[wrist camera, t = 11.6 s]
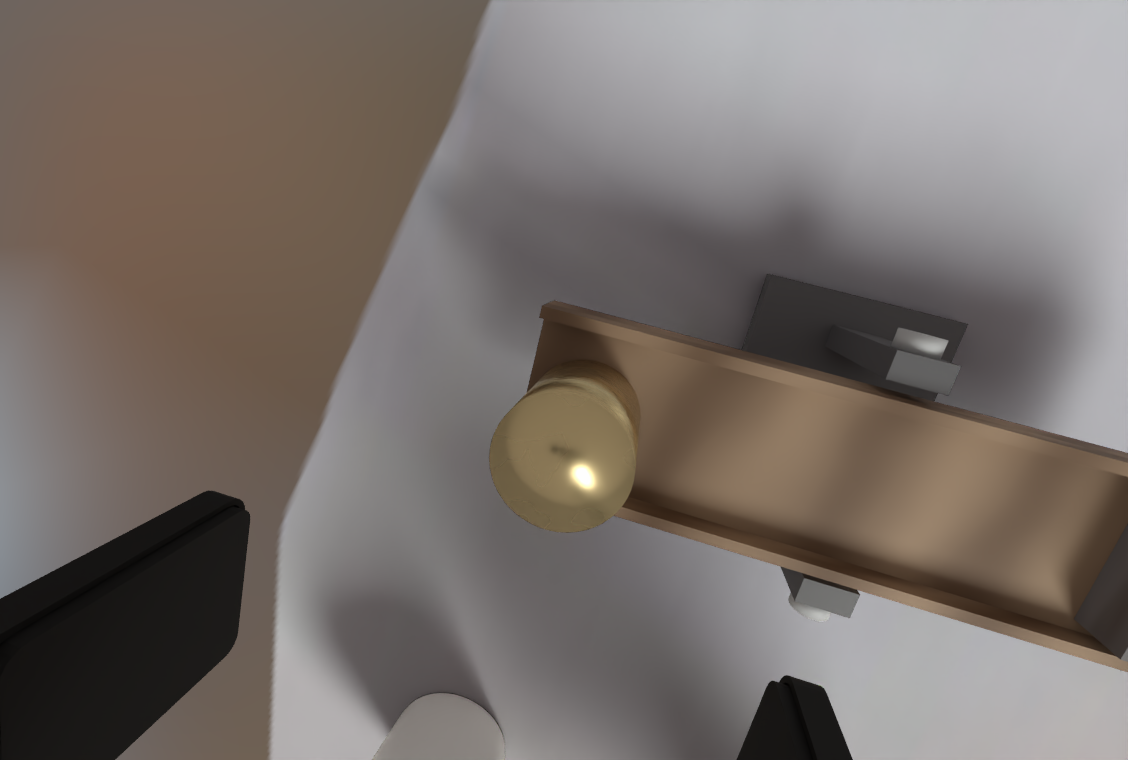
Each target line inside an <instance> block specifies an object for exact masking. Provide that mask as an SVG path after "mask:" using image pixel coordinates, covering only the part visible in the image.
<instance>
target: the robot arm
mask: <svg viewBox="0 0 1128 760" xmlns="http://www.w3.org/2000/svg"><path fill="white" fill-rule="evenodd" d="M249 525H250V514H249V512H247V511H246V510H245V506H244V503H243V501H241V500H240V499H237V498H234V497H231V496H227V495H224V494H221V493H218V492H215V491H206V492H203V493H201V494H199V495H197V496H195V497H193V498H192V499H190V500H188V501H186V502H184V503H182V504H180V505H178V506H176V507H174V508H172V509H171V510H169V511H167V512H165V513H163V514H161V515H159V516H157V517H155V518H154V519H151V520H150V521H148V522H146V523H144V524H142V525H140V526H138V527H137V528H134V529H133V530H130V531H129V532H127V533H125V534H123V535H121V536H119V537H117V538H115V539H113V540H112V541H110V542H108V543H106V544H104V545H102V546H100V547H98V548H96V549H94V550H92V551H90V552H89V553H87V554H85V555H83V556H81V557H79V558H77V559H75V560H73V561H71V562H70V563H68V564H66V565H64V566H62V567H60V568H58V569H56V570H55V571H52V572H50V573H49V574H47V575H45V576H43V577H41V578H39V579H37V580H35V581H33V582H31V583H30V584H28V585H26V586H24V587H22V588H20V589H18V590H16V591H14V592H13V593H11V594H9V595H7V596H5V597H3V598H1V599H0V760H115V759H116V758H117V757H118V756H119V755H120V754H122V753H123V752H124V751H125V750H126V749H127V748H128V747H129V746H130V745H131V744H132V743H133V742H135V741H136V740H137V739H138V738H139V737H140V736H141V735H142V734H143V733H144V732H145V731H146V730H147V729H148V728H150V727H151V726H152V725H153V724H154V723H155V722H156V721H157V720H158V719H159V718H160V717H161V716H162V715H163V714H164V713H166V712H167V711H168V710H169V709H170V708H171V707H172V706H173V705H174V704H175V703H176V702H177V701H178V700H179V699H180V698H182V697H183V696H184V695H185V694H186V693H187V692H188V691H189V690H190V689H191V688H192V687H193V686H194V685H196V683H198V682H199V681H200V680H201V679H202V678H203V677H204V676H205V675H206V674H207V673H208V672H209V671H211V670H212V669H213V668H214V667H215V666H216V665H217V664H218V663H219V662H220V661H221V660H222V659H223V658H224V657H225V656H226V655H227V654H228V653H229V652H230V650H231V649H232V647H233V645H234V643H235V641H236V638H237V634H238V627H239V618H240V609H241V599H242V590H243V581H244V571H245V561H246V553H247V544H248V535H249ZM737 760H853V759H852V757H851V754H850V752H849V749H848V747H847V744H846V742H845V739H844V736H843V734H842V731H841V729H840V726H839V724H838V721H837V719H836V716H835V713H834V711H833V708H832V706H831V703H830V701H829V698H828V696H827V693H826V691H825V690H824V688H822V687H821V686H819V685H816V684H813V683H810V682H806V681H803V680H800V679H797V678H794V677H791V676H788V675H787V676H784V677H783V678H782V679H781V680H780V682H779V683H778V682H775V681H771V682H770V683H769V684H768V686H767V688H766V690H765V692H764V695H763V697H762V700H761V702H760V705H759V707H758V709H757V712H756V714H755V717H754V719H753V721H752V724H751V726H750V729H749V731H748V734H747V736H746V738H745V741H744V743H743V746H742V748H741V751H740V753H739V755H738V758H737Z"/></svg>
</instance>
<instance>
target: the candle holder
mask: <svg viewBox="0 0 1128 760" xmlns="http://www.w3.org/2000/svg"><path fill="white" fill-rule="evenodd" d="M372 760H505V742H504V738H503V735H502V732H501V730H500V728H499V726H498V724H497V723H496V721H495V720H494V719H493V717H492V716H491V715H490V714H489V713H488V712H487V711H486V710H485V709H483V708H482V707H481V706H479V705H478V704H476V703H475V702H473V701H471V700H469V699H467V698H464V697H462V696H458V695H454V694H448V693H435V694H429V695H425V696H423V697H420V698H418V699H417V700H415V701H413V702H412V703H411V704H410V705H409V706H408V707H407V708H406V709H405V710H404V711H403V713H402V714H401V715H400V717H399V718H398V720H397V721H396V723H395V724H394V726H393V727H392V729H391V730H390V732H389V734H388V735H387V737H386V738H385V740H384V741H383V743H382V744H381V746H380V748H379V749H378V751H377V752H376V754H375V755H374V757H373V759H372Z"/></svg>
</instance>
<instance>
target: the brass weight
mask: <svg viewBox="0 0 1128 760" xmlns="http://www.w3.org/2000/svg"><path fill="white" fill-rule="evenodd" d="M640 421H641V412H640V405H639V401H638V398H637V395H636V393H635V391H634V389H633V388H632V386H631V384H630V383H629V382H628V381H627V379H626V378H625V377H624V376H623V375H622V374H621V373H619V372H618V371H617V370H615V369H614V368H612V367H610V366H608V365H606V364H604V363H601V362H597V361H594V360H580V359H579V360H571V361H567V362H564V363H561V364H559V365H557V366H555V367H553V368H552V369H550V370H549V371H548V372H546V373H545V374H544V375H543V376H542V377H541V378H540V380H539V381H538V382H537V383H536V384H535V385H534V386H533V387H532V388H531V389H530V390H529V391H528V392H527V393H526V394H525V395H524V396H523V397H522V398H521V400H520V401H519V402H518V403H517V404H516V405H515V406H514V407H513V408H512V409H511V410H510V411H509V412H508V413H507V414H506V415H505V416H504V418H503V419H502V420H501V422H500V423H499V425H498V427H497V429H496V430H495V433H494V435H493V438H492V441H491V446H490V454H489V462H490V470H491V475H492V478H493V481H494V484H495V486H496V489H497V491H498V493H499V494H500V496H501V497H502V499H503V500H504V502H505V503H506V504H507V505H508V506H509V508H511V509H512V510H513V511H514V512H515V513H516V514H517V515H518V516H520V517H521V518H522V519H524V520H526V521H527V522H529V523H531V524H533V525H535V526H537V527H540V528H543V529H546V530H550V531H555V532H566V533H568V532H579V531H584V530H588V529H591V528H594V527H596V526H598V525H600V524H602V523H604V522H605V521H607V520H608V519H610V518H611V517H612V516H613V515H614V514H616V513H617V512H618V510H619V509H620V508H621V507H622V506H623V504H624V503H625V501H626V500H627V498H628V496H629V494H630V492H631V489H632V486H633V482H634V476H635V469H636V459H637V449H638V440H639V430H640Z"/></svg>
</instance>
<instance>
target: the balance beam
mask: <svg viewBox="0 0 1128 760" xmlns="http://www.w3.org/2000/svg"><path fill="white" fill-rule="evenodd" d="M539 318H543V319H544V321H543V326H542V330H541V334H540V338H539V343H538V347H537V351H536V355H535V360H534V364H533V368H532V372H531V377H530V381H529V385H528V389H527V392H528V391H529V390H530V389H531V388H532V387H533V386H534V385H535V384H536V383H537V382H538V381H539V380H540V378H541V377H542V376H543V375H544V374H545V373H546V372H548V371H549V370H550V369H552V368H553V367H555V366H557V365H559V364H561V363H564V362H567V361H571V360H579V359H580V360H594V361H597V362H601V363H604V364H606V365H608V366H610V367H612V368H614V369H615V370H617V371H618V372H619V373H621V374H622V375H623V376H624V377H625V378H626V379H627V381H628V382H629V383H630V384H631V386H632V388H633V389H634V391H635V393H636V395H637V398H638V401H639V405H640V412H641V421H640V430H639V440H638V449H637V459H636V469H635V476H634V482H633V486H632V489H631V492H630V494H629V496H628V498H627V500H626V501H625V503H624V504H623V506H622V507H621V508H620V509H619V510H618V512H617V513H616V514H614V515H613V516H617V517H620V518H623V519H626V520H630V521H633V522H636V523H640V524H643V525H646V526H649V527H653V528H656V529H659V530H663V531H666V532H669V533H672V534H676V535H679V536H682V537H686V538H689V539H692V540H695V541H699V542H702V543H705V544H708V545H712V546H715V547H718V548H722V549H725V550H728V551H731V552H735V553H738V554H741V555H745V556H748V557H751V558H754V559H758V560H761V561H764V562H768V563H771V564H774V565H777V566H781V567H784V568H787V569H791V570H794V571H797V572H800V573H804V574H807V575H810V576H814V577H817V578H820V579H823V580H827V581H830V582H833V583H837V584H840V585H843V586H846V587H850V588H853V589H856V590H860V591H863V592H866V593H869V594H873V595H876V596H879V597H883V598H886V599H889V600H892V601H896V602H899V603H902V604H905V605H909V606H912V607H915V608H919V609H922V610H925V611H928V612H932V613H935V614H938V615H942V616H945V617H948V618H951V619H955V620H958V621H961V622H965V623H968V624H971V625H974V626H978V627H981V628H984V629H988V630H991V631H994V632H997V633H1001V634H1004V635H1007V636H1011V637H1014V638H1017V639H1020V640H1024V641H1027V642H1030V643H1034V644H1037V645H1040V646H1043V647H1047V648H1050V649H1053V650H1057V651H1060V652H1063V653H1066V654H1070V655H1073V656H1076V657H1080V658H1083V659H1086V660H1089V661H1093V662H1096V663H1099V664H1102V665H1106V666H1109V667H1112V668H1116V669H1119V670H1122V671H1125V672H1128V453H1125V452H1122V451H1118V450H1114V449H1110V448H1107V447H1103V446H1099V445H1095V444H1092V443H1088V442H1084V441H1080V440H1077V439H1073V438H1069V437H1065V436H1062V435H1058V434H1054V433H1050V432H1047V431H1043V430H1039V429H1035V428H1032V427H1028V426H1024V425H1020V424H1017V423H1013V422H1009V421H1005V420H1002V419H998V418H994V417H990V416H987V415H983V414H979V413H975V412H972V411H968V410H964V409H960V408H957V407H953V406H949V405H945V404H942V403H938V402H934V401H930V400H927V399H923V398H919V397H915V396H912V395H908V394H904V393H900V392H897V391H893V390H889V389H885V388H882V387H878V386H874V385H870V384H867V383H863V382H859V381H855V380H852V379H848V378H844V377H840V376H837V375H833V374H829V373H825V372H822V371H818V370H814V369H810V368H807V367H803V366H799V365H795V364H792V363H788V362H784V361H780V360H777V359H773V358H769V357H765V356H762V355H758V354H754V353H750V352H747V351H743V350H739V349H735V348H732V347H728V346H724V345H720V344H717V343H713V342H709V341H705V340H702V339H698V338H694V337H690V336H687V335H683V334H679V333H675V332H672V331H668V330H664V329H660V328H657V327H653V326H649V325H645V324H642V323H638V322H634V321H630V320H627V319H623V318H619V317H615V316H611V315H608V314H604V313H600V312H596V311H593V310H589V309H585V308H581V307H578V306H574V305H570V304H566V303H563V302H559V301H555V300H554V301H552V302H550V303H547V304H545V305H543V306H542V308H541V313H540V317H539Z"/></svg>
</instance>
